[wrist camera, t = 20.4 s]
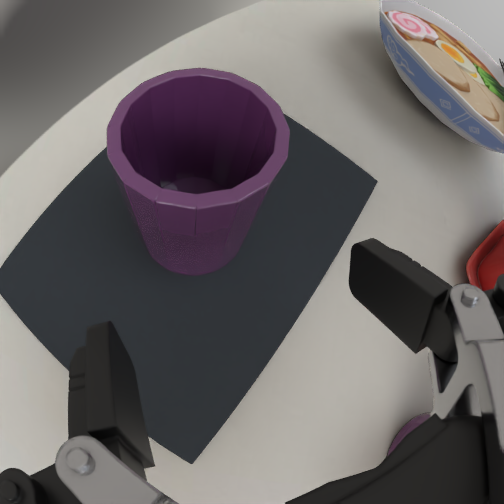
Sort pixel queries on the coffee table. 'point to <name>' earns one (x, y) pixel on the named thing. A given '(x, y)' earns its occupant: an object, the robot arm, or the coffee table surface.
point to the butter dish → (487, 260)
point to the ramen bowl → (446, 71)
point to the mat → (185, 287)
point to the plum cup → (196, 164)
